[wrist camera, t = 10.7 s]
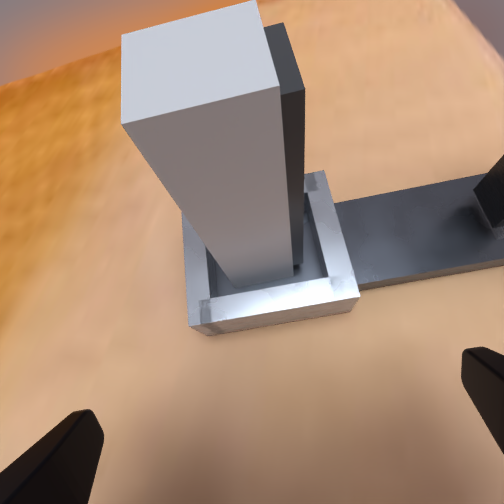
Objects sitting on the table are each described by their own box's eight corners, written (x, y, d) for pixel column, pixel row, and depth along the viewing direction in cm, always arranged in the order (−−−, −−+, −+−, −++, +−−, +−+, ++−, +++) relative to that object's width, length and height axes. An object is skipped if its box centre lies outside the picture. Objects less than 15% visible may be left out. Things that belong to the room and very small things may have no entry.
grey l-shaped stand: (573, 273, 17) (1358, -47, 4) (207, 336, 19) (7, 234, 6) (510, 165, 20) (870, -215, 7) (198, 227, 22) (51, 2, 9)
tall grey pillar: (304, 274, 18) (308, 78, 6) (235, 288, 18) (120, 124, 7) (293, 227, 19) (279, -7, 8) (228, 241, 19) (121, 34, 8)
